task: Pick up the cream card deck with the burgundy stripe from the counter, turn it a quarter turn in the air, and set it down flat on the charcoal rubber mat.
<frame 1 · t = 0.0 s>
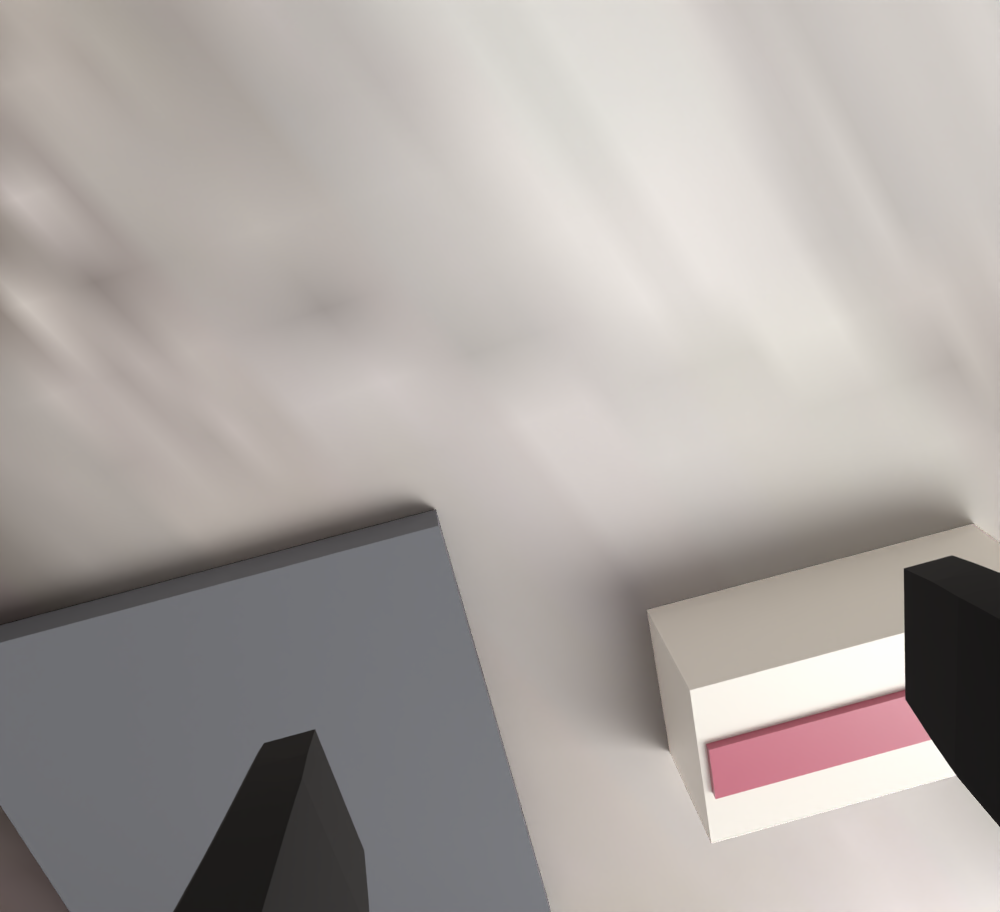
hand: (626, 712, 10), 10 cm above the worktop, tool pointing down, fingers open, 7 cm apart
mat: (281, 791, 23), on the worktop
card deck: (811, 635, 24), on the worktop
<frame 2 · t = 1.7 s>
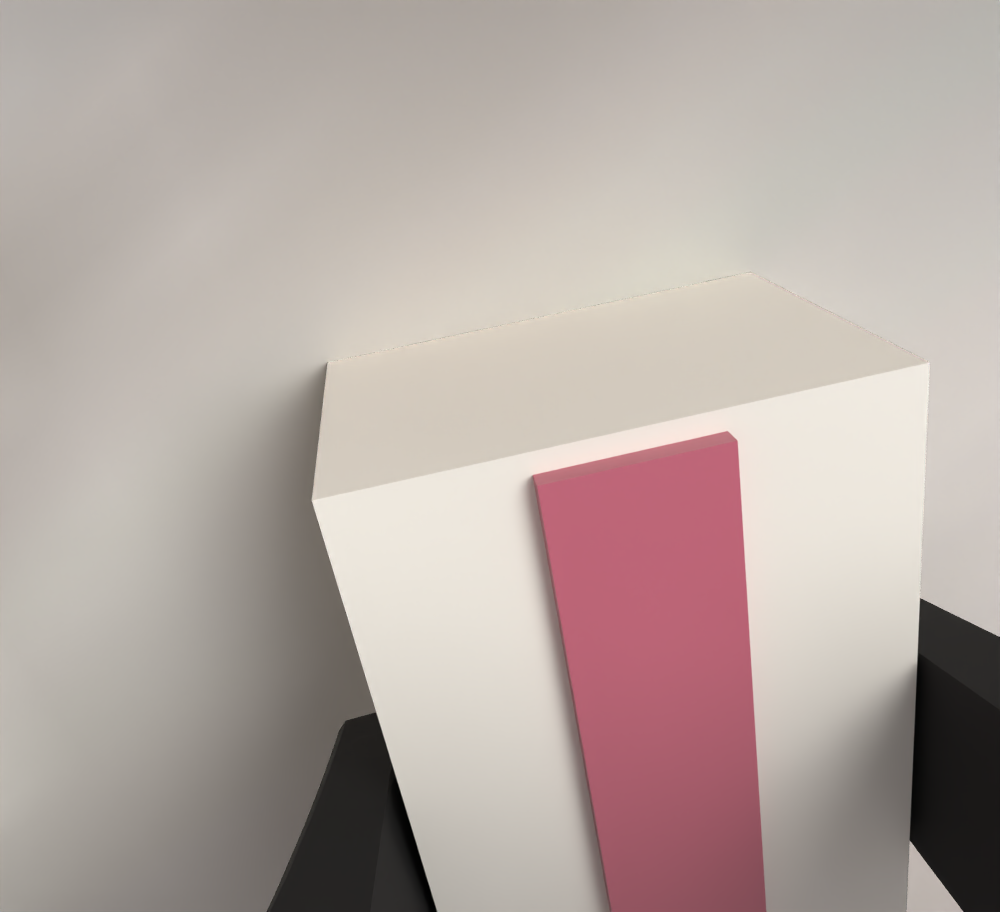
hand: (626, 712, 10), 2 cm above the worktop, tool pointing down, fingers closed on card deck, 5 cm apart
card deck: (591, 630, 12), on the worktop, touching gripper
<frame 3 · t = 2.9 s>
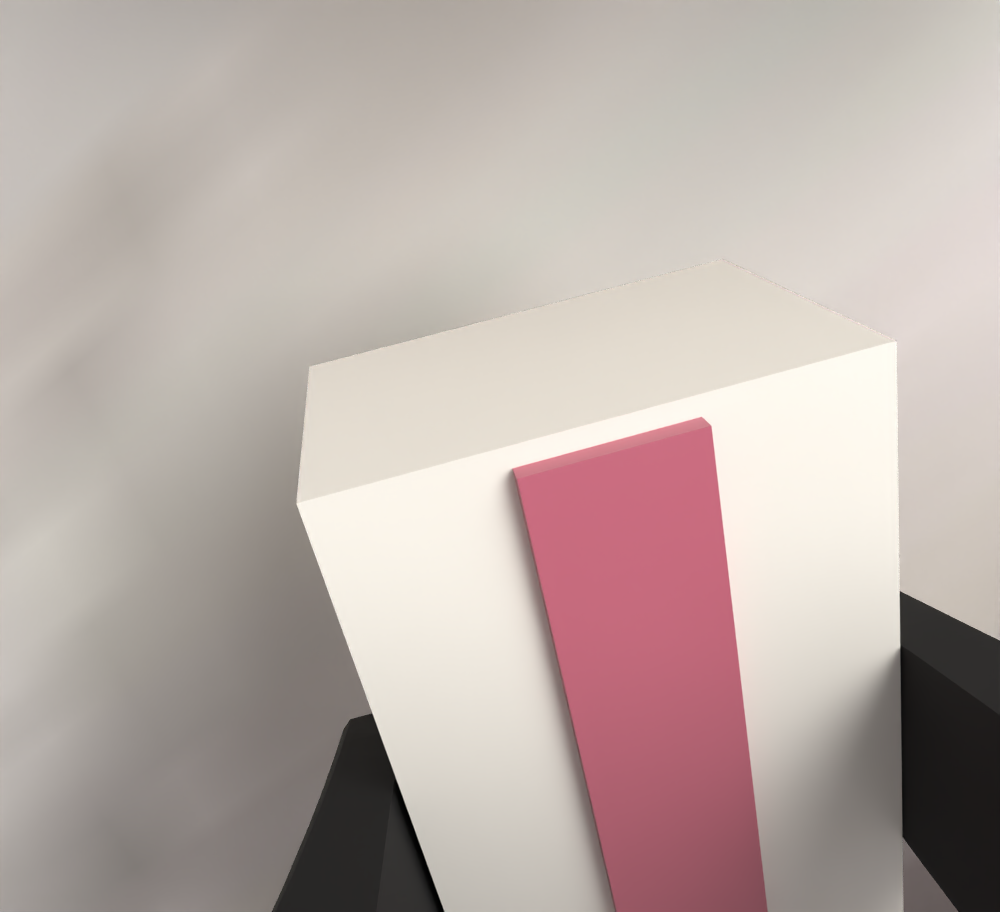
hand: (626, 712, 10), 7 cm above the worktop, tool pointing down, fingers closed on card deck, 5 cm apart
card deck: (584, 620, 12), point 5 cm above the worktop, touching gripper
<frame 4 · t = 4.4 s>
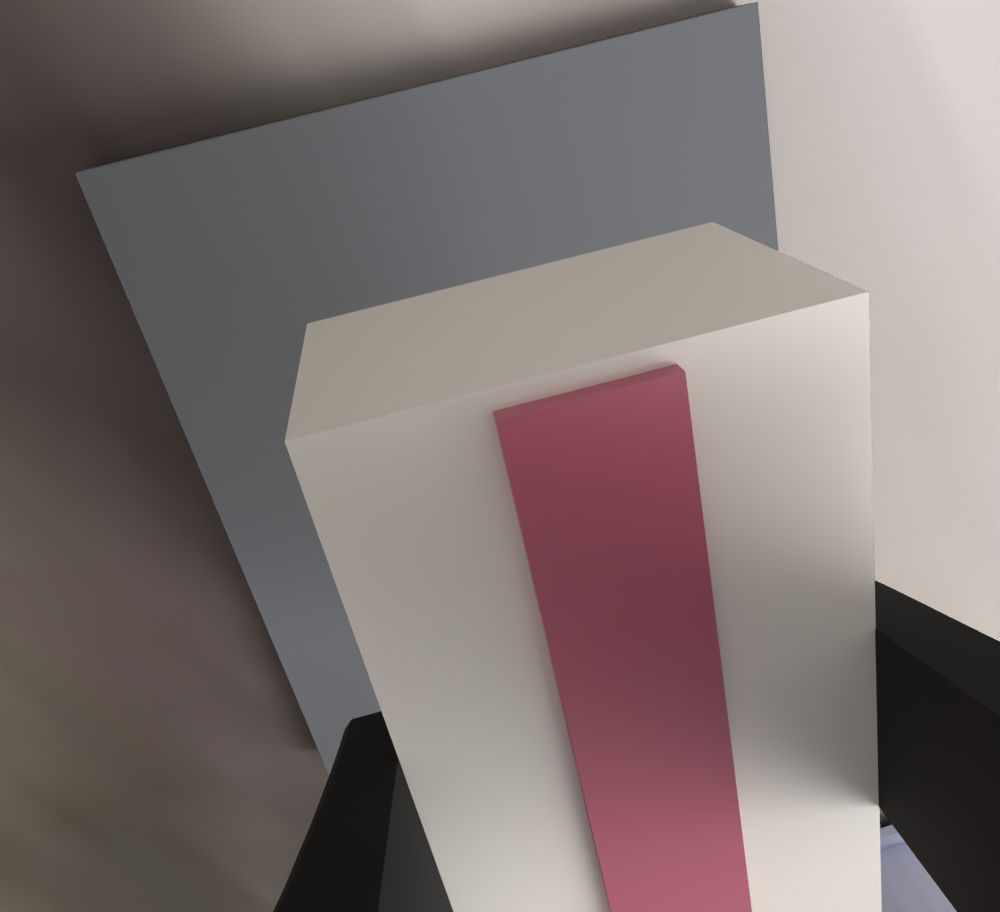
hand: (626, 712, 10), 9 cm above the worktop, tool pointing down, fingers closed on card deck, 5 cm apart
mat: (504, 434, 18), on the worktop
card deck: (576, 579, 12), point 7 cm above the worktop, touching gripper
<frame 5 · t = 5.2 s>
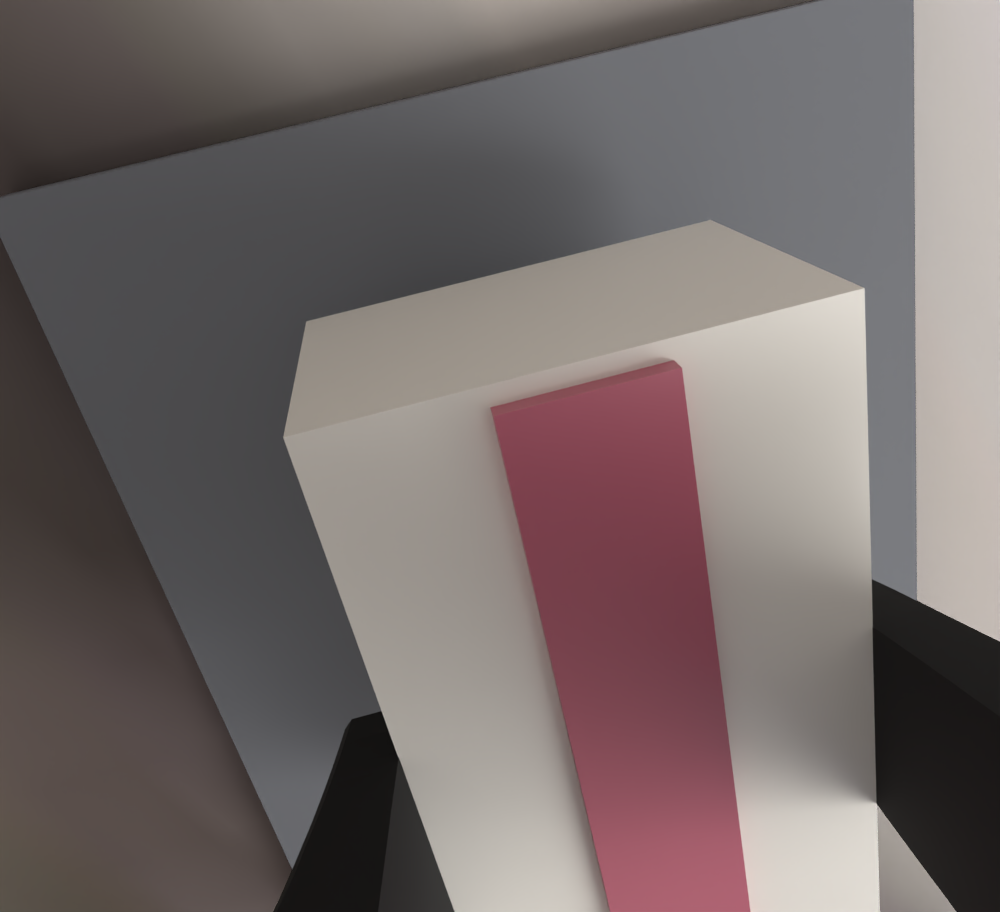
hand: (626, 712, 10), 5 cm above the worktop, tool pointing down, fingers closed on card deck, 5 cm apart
mat: (550, 529, 14), on the worktop
card deck: (574, 576, 12), point 2 cm above the worktop, touching gripper
when the fingers open (4 cm above the worktop, at t = 5.9 s): card deck stays where it is, resting on mat.
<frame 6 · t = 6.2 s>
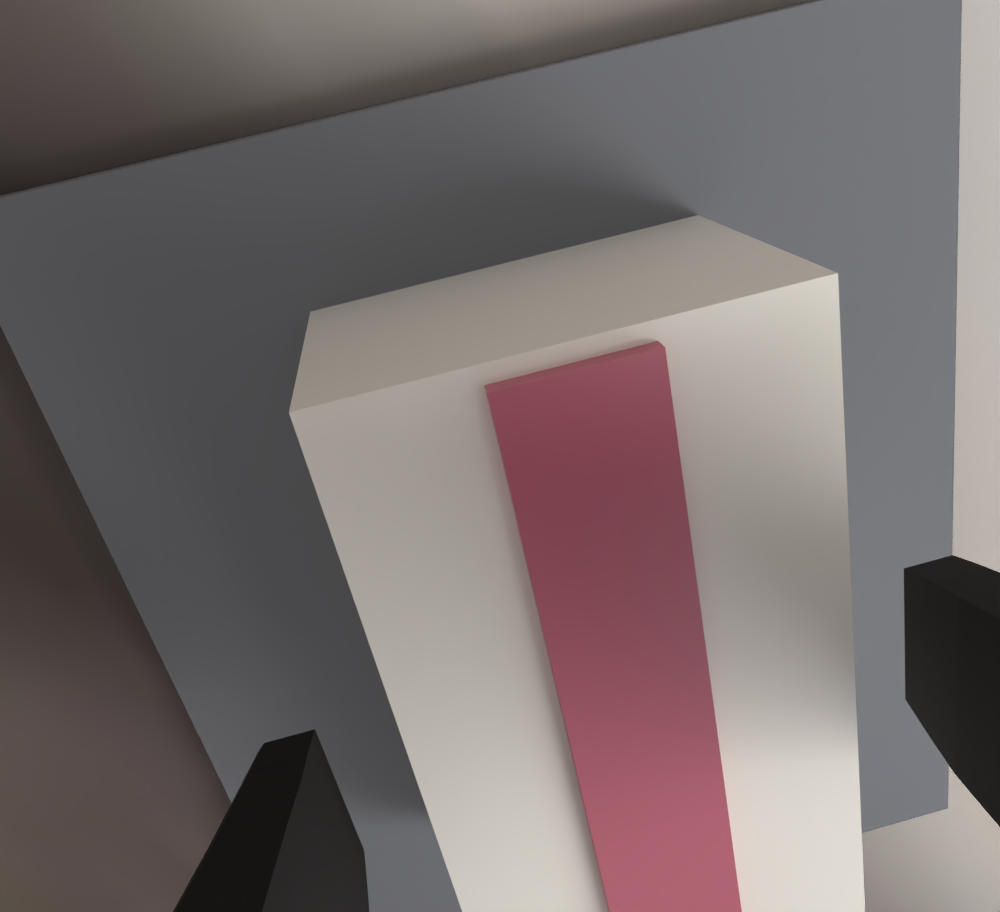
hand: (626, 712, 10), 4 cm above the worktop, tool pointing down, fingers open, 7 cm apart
mat: (562, 558, 14), on the worktop
card deck: (569, 561, 13), point 1 cm above the worktop, touching mat
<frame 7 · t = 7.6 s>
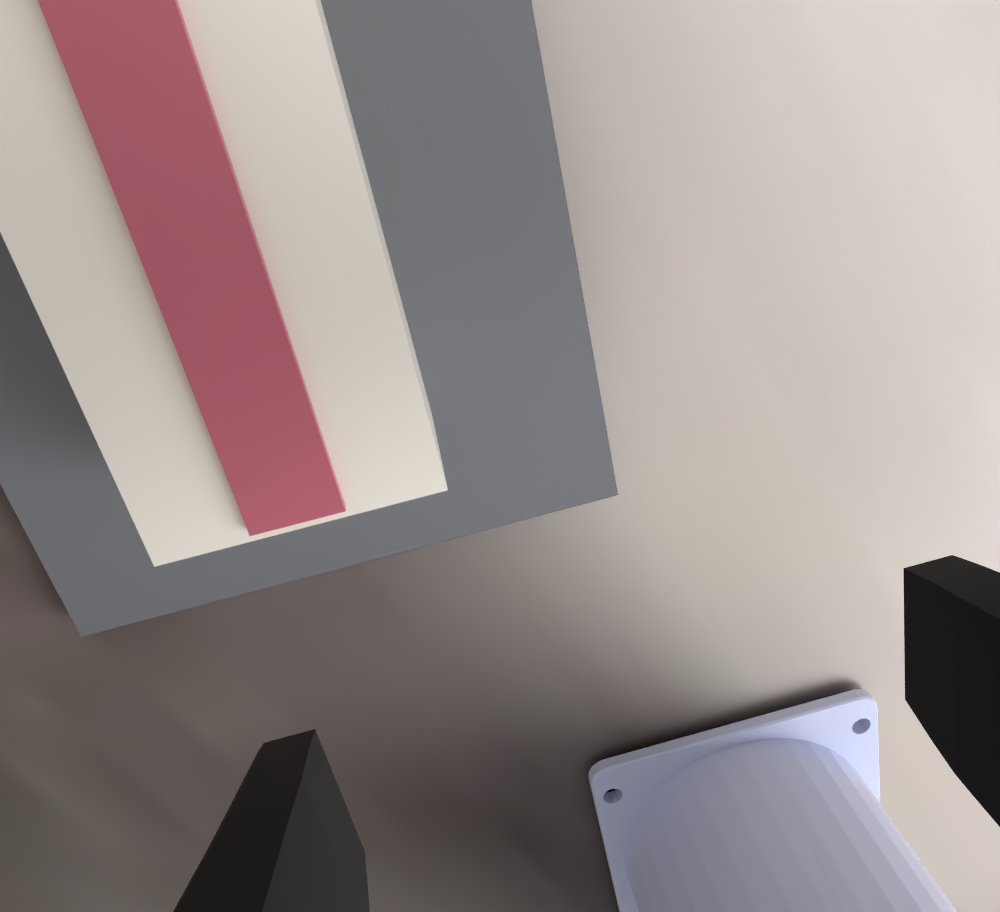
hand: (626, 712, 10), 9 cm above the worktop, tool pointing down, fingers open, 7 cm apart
mat: (250, 241, 16), on the worktop
card deck: (237, 225, 16), point 1 cm above the worktop, touching mat
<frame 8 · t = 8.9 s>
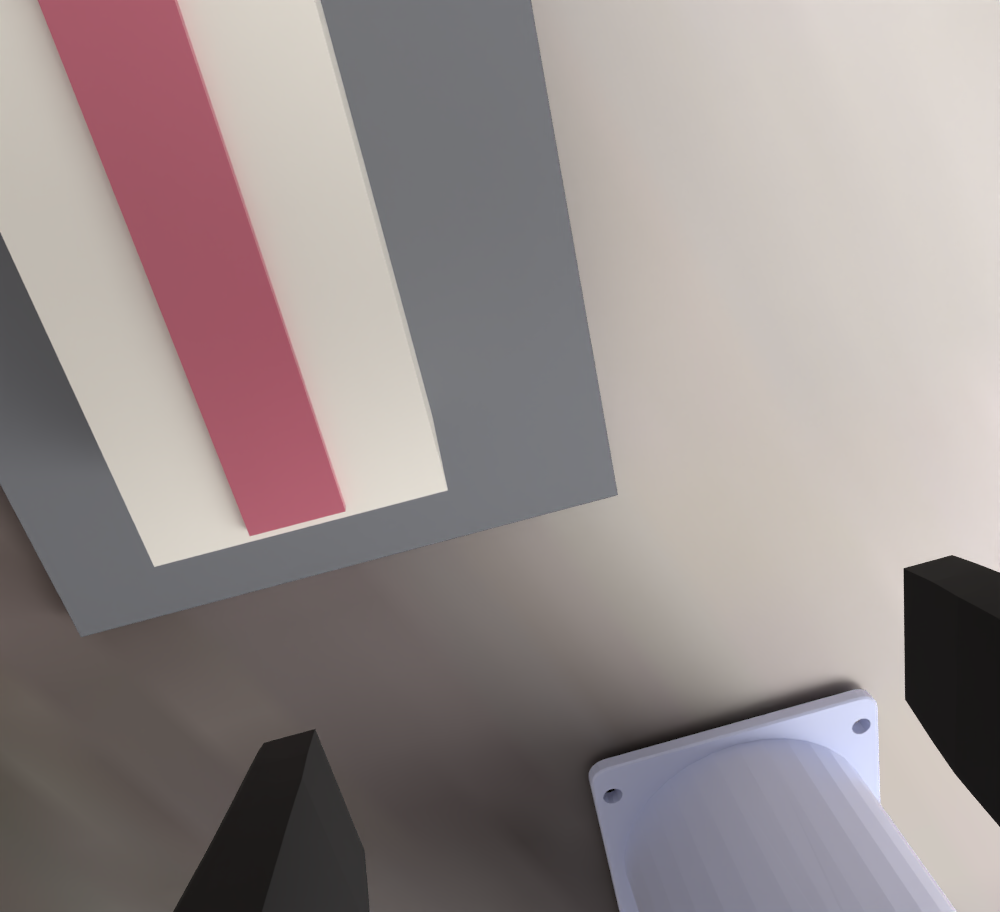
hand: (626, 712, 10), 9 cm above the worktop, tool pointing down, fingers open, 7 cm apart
mat: (250, 241, 16), on the worktop
card deck: (237, 225, 16), point 1 cm above the worktop, touching mat
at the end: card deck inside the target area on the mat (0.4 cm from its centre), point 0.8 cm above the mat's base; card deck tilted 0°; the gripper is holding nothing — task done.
